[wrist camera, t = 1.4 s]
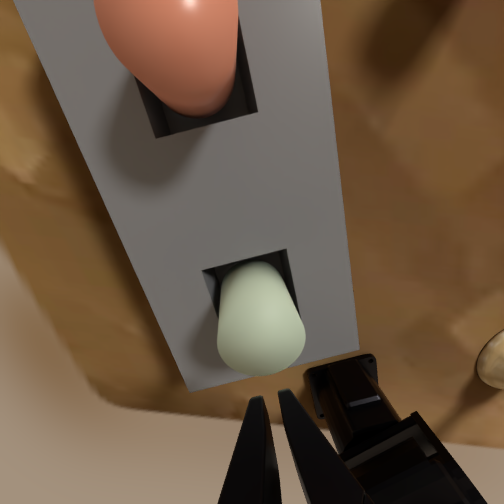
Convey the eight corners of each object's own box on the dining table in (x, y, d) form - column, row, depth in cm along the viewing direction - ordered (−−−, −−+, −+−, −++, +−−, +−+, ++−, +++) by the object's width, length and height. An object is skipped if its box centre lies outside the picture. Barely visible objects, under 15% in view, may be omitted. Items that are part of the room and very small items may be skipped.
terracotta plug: (244, 107, 12) (252, 72, 8) (167, 127, 12) (128, 105, 8) (222, 8, 11) (216, -109, 6) (135, 30, 11) (65, -69, 6)
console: (331, 309, 22) (359, 349, 17) (198, 343, 22) (189, 392, 17) (275, -59, 13) (299, -180, 9) (62, -3, 13) (-29, -93, 9)
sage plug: (288, 307, 16) (311, 364, 12) (230, 322, 16) (230, 384, 12) (276, 252, 15) (297, 292, 10) (213, 268, 15) (205, 315, 10)
